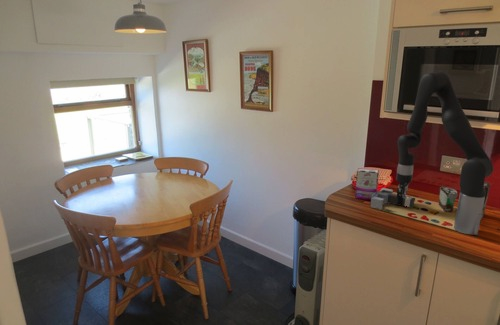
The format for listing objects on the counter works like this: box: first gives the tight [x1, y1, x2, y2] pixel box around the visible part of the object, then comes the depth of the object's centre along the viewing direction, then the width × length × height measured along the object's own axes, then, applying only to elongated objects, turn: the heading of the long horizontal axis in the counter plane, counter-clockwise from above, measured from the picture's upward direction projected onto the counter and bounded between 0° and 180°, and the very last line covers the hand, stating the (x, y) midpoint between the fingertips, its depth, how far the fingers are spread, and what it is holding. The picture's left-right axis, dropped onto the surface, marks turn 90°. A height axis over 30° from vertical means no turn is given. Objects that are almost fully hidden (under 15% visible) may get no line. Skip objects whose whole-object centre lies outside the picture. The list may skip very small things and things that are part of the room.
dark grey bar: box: [383, 192, 416, 208], centre depth 180 cm, size 16×4×4 cm, turn 53°
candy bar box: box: [354, 167, 380, 201], centre depth 185 cm, size 11×5×16 cm, turn 67°
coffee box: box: [481, 181, 491, 220], centre depth 164 cm, size 9×6×16 cm
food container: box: [437, 186, 459, 213], centre depth 172 cm, size 12×6×10 cm, turn 168°
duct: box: [370, 187, 394, 210], centre depth 181 cm, size 6×19×6 cm, turn 143°
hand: (400, 203), depth 179 cm, fingers closed on dark grey bar, 4 cm apart
